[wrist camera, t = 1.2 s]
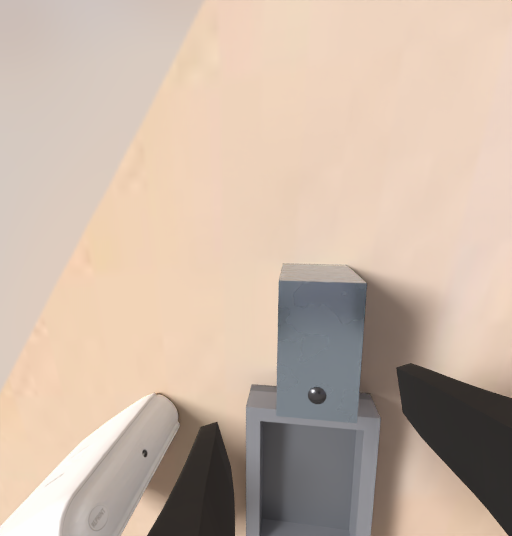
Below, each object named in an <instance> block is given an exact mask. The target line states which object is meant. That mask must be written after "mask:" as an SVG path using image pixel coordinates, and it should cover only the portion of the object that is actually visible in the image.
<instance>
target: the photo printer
mask: <svg viewBox="0 0 512 536" xmlns="http://www.w3.org/2000/svg"><path fill="white" fill-rule="evenodd" d="M179 426H180V424H179V422H178V412H177V409H176V407H175V406H174V404H173V403H172V402H171V401H170V400H169V399H168V398H166V397H165V396H163V395H159V394H158V395H156V393H152V394H149V395H147V396H145V397H143V398H141V399H140V400H138V401H136V402H135V403H133V404H132V405H130V406H129V407H127V408H126V409H124V410H123V411H122V412H120V413H119V414H117V415H116V416H114V417H113V418H112V419H110V420H109V421H107V422H106V423H105V424H103V425H102V426H101V427H99V428H98V429H97V430H95V431H94V432H93V433H92V434H90V435H89V436H88V437H87V438H85V439H84V440H83V441H82V442H81V443H80V444H79V445H78V446H77V447H76V448H75V449H74V450H73V451H72V452H71V453H70V454H69V455H68V456H67V457H66V458H65V459H64V460H63V461H62V462H61V463H60V464H59V465H58V466H57V467H56V468H55V469H54V470H53V472H52V473H51V474H50V475H49V476H48V477H47V478H46V479H45V480H44V481H43V482H42V483H41V484H40V485H39V486H38V487H37V488H36V489H35V490H34V492H33V493H32V494H31V495H30V496H29V497H28V498H27V499H26V500H25V501H24V502H23V503H22V504H21V505H20V506H19V507H18V508H17V510H16V511H15V512H14V513H13V514H12V515H11V516H10V517H9V518H8V519H7V520H6V521H5V522H4V523H3V524H2V525H1V526H0V536H121V534H122V532H123V530H124V528H125V527H126V525H127V523H128V521H129V519H130V517H131V515H132V514H133V512H134V510H135V508H136V506H137V504H138V503H139V501H140V499H141V497H142V495H143V493H144V491H145V489H146V488H147V486H148V484H149V482H150V480H151V479H152V477H153V475H154V473H155V471H156V469H157V467H158V466H159V464H160V462H161V460H162V458H163V456H164V455H165V453H166V451H167V449H168V447H169V445H170V444H171V442H172V440H173V438H174V436H175V435H176V433H177V431H178V429H179Z"/></svg>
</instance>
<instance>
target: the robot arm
mask: <svg viewBox="0 0 512 536" xmlns="http://www.w3.org/2000/svg"><path fill="white" fill-rule="evenodd" d="M396 369H397V376H398V382H399V389H400V396H401V403H402V410H403V413H404V415H405V416H406V417H407V419H408V420H409V421H410V423H411V424H412V426H413V427H414V428H415V430H416V431H417V432H418V434H419V435H420V436H421V437H422V438H423V440H424V441H425V442H426V443H427V444H428V445H429V446H430V447H431V448H432V449H433V450H434V452H435V453H436V454H437V455H438V456H439V457H440V458H441V459H442V460H443V461H444V462H445V463H446V464H447V466H448V467H449V468H450V469H451V470H452V471H453V472H454V473H455V474H456V475H457V476H458V477H459V478H460V479H461V480H462V482H463V483H464V484H465V485H466V486H467V487H468V488H469V489H470V490H471V491H472V492H473V493H474V494H475V496H476V497H477V498H478V499H479V500H480V501H481V502H482V504H483V505H484V506H485V507H486V508H487V509H488V511H489V512H490V513H491V514H492V516H493V517H494V518H495V519H496V521H497V522H498V523H499V524H500V526H501V527H502V528H503V529H504V531H505V532H506V533H507V534H508V536H512V398H509V397H506V396H502V395H499V394H496V393H493V392H490V391H487V390H484V389H481V388H478V387H475V386H472V385H469V384H466V383H464V382H461V381H458V380H455V379H453V378H450V377H447V376H445V375H442V374H439V373H437V372H434V371H431V370H429V369H426V368H423V367H420V366H417V365H414V364H411V363H410V364H407V365H404V366H400V367H397V368H396ZM147 536H235V508H234V490H233V481H232V472H231V466H230V462H229V459H228V456H227V453H226V449H225V446H224V443H223V439H222V436H221V433H220V429H219V426H218V423H217V422H216V423H212V424H209V425H206V426H202V427H201V428H200V430H199V432H198V434H197V437H196V439H195V442H194V444H193V447H192V449H191V452H190V454H189V456H188V459H187V461H186V463H185V465H184V467H183V470H182V472H181V474H180V476H179V478H178V480H177V482H176V484H175V486H174V488H173V490H172V492H171V494H170V496H169V498H168V500H167V502H166V504H165V506H164V507H163V509H162V511H161V513H160V515H159V516H158V518H157V520H156V522H155V523H154V525H153V527H152V528H151V530H150V532H149V533H148V535H147Z"/></svg>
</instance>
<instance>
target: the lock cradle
mask: <svg viewBox="0 0 512 536" xmlns="http://www.w3.org/2000/svg"><path fill="white" fill-rule="evenodd" d="M276 405H277V386H264V385H252V386H251V390H250V393H249V397H248V401H247V405H246V536H371V525H372V514H373V502H374V491H375V479H376V468H377V456H378V445H379V433H380V421H381V418H380V416H379V413H378V411H377V409H376V406H375V404H374V402H373V399H372V397H371V395H370V394H368V393H359V403H358V417H357V423H348V422H336V421H325V420H314V419H303V418H291V417H280V416H276Z"/></svg>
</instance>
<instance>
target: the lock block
mask: <svg viewBox="0 0 512 536" xmlns="http://www.w3.org/2000/svg"><path fill="white" fill-rule="evenodd" d="M366 291H367V283H366V282H365V281H364V280H363V279H362V278H361V277H359V276H358V275H357V274H356V273H355V272H354V271H353V270H352V269H351V268H349V267H348V266H347V265H325V264H285V263H283V265H282V269H281V274H280V278H279V301H278V353H277V405H276V416H280V417H291V418H303V419H314V420H325V421H336V422H348V423H357V417H358V403H359V389H360V375H361V361H362V347H363V333H364V319H365V305H366Z"/></svg>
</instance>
